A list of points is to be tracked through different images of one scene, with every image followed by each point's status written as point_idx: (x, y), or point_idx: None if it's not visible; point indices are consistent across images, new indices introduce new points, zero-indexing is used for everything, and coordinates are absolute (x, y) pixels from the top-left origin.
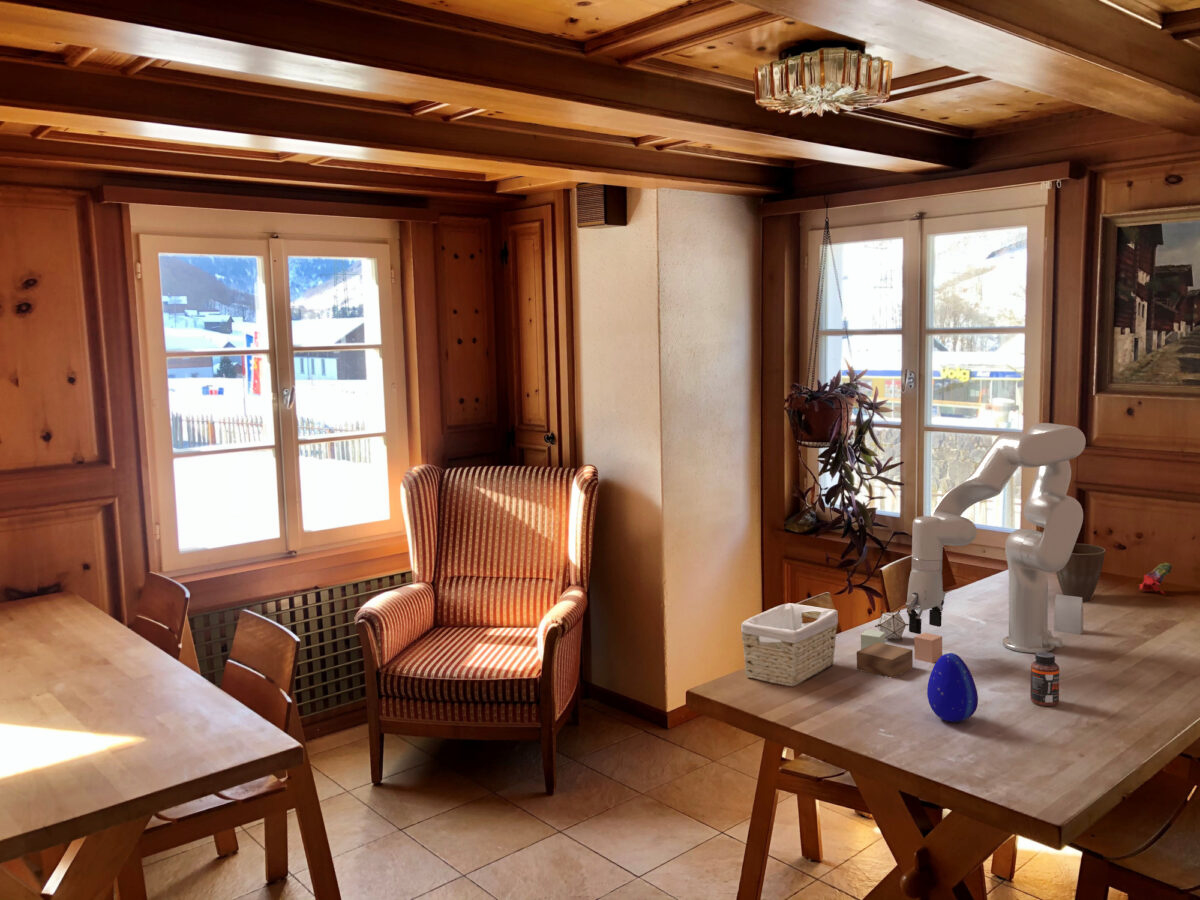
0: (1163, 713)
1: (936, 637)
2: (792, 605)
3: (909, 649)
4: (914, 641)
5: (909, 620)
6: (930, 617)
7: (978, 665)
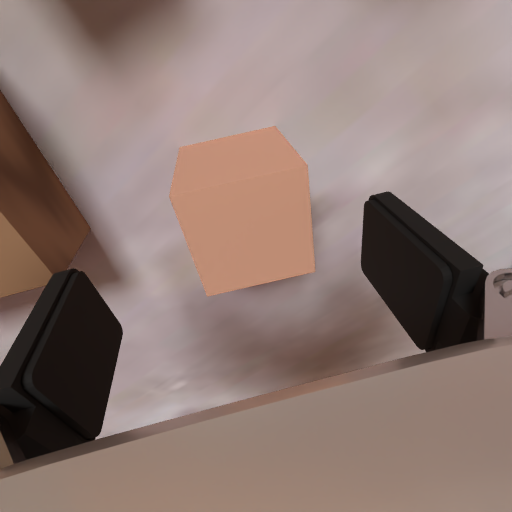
0: None
1: (273, 272)
2: None
3: (44, 270)
4: (172, 182)
5: (11, 354)
6: (396, 240)
7: (311, 311)
